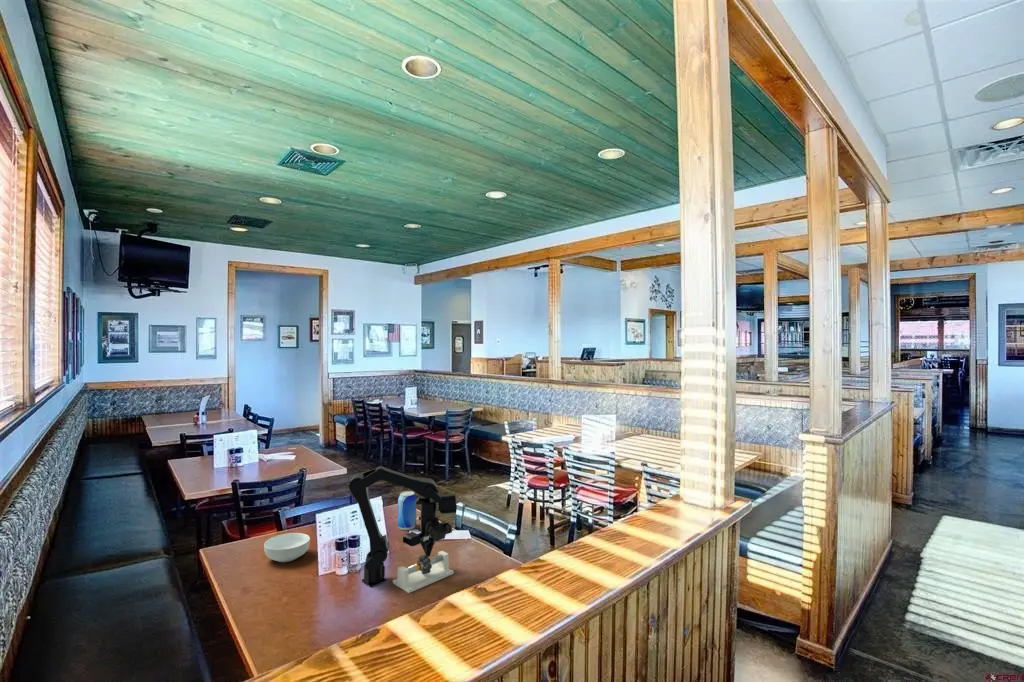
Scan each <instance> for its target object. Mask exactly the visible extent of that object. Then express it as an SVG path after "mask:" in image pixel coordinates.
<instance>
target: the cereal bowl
mask: <svg viewBox="0 0 1024 682" xmlns="http://www.w3.org/2000/svg"><path fill="white" fill-rule="evenodd" d="M310 542H311V538H310V535H308V534H305V533H302V532H301V533H299V532H289V533H283V534H278V535H274V536H273V537H272V536H271V537H270V538H269V539H267V540H266V541H265V542H264V543H263V544H264V545H263V546H264V547H263V550H264V554H265V556H266V557H267V558H268V559H270V560H273V561H276V562H278V563H287V562H292V561H294V560H296V559H297V558H299V557H301V556H303V555H304V554H305V553H306V552H307V551H308V549H309V547H310V544H311V543H310Z"/></svg>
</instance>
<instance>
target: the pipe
mask: <svg viewBox="0 0 1024 682" xmlns="http://www.w3.org/2000/svg"><path fill="white" fill-rule="evenodd" d="M429 558H430V557H429ZM430 560H431V562H430V564H431V565H434V564H436V563H439V562H441V561H443V556H442V555H438V554H437V555H435V556H434V557H431V558H430ZM426 565H427V564H425V562H424V561H423V562H420V563H414V564H412V565H410V566H408V567H406V568H407V569H409V574H411V573H414V572H417V571H420V570H421V569H424V568H426V567H425V566H426Z"/></svg>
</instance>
